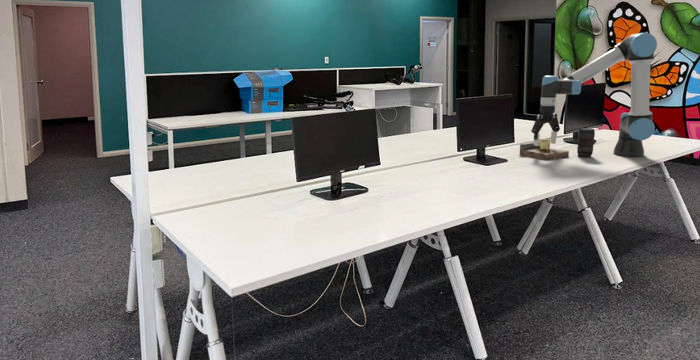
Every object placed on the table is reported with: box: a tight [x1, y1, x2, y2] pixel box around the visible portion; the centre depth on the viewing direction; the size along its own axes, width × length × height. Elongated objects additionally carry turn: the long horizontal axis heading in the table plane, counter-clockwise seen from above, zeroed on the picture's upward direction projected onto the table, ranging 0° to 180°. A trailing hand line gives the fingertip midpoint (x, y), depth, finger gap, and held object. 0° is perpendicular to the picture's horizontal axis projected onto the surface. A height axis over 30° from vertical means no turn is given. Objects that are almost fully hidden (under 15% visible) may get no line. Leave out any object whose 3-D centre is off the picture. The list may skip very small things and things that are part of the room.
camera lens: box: [576, 128, 596, 159], centre depth 301 cm, size 8×8×15 cm
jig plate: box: [519, 141, 570, 161], centre depth 304 cm, size 18×18×6 cm
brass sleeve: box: [539, 138, 551, 152], centre depth 304 cm, size 6×6×9 cm
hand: (544, 144), depth 303 cm, fingers open, 13 cm apart
